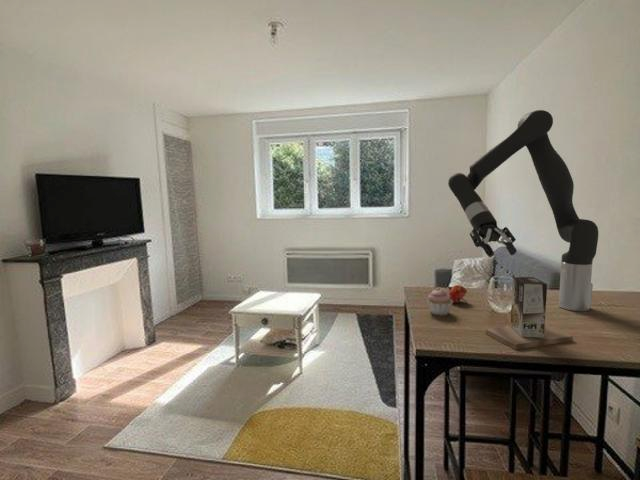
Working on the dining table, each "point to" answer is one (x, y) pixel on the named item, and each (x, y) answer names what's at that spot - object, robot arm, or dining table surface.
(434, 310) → the cupcake
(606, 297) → the dining table surface
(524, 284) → the coffee box
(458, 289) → the pomegranate
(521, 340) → the walnut board
